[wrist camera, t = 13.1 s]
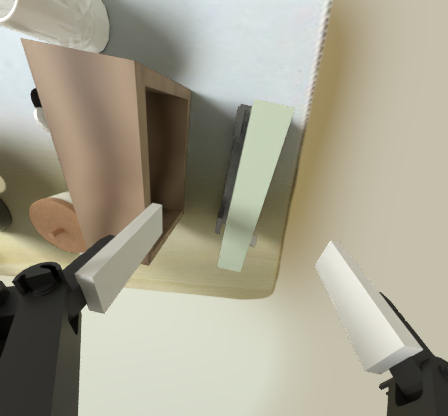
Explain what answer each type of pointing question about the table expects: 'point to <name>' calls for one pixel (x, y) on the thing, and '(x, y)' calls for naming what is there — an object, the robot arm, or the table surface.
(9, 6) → the white cup
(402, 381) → the robot arm
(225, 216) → the clip rail
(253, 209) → the door panel
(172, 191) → the cabinet
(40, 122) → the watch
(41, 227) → the lidded jar
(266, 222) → the table surface
